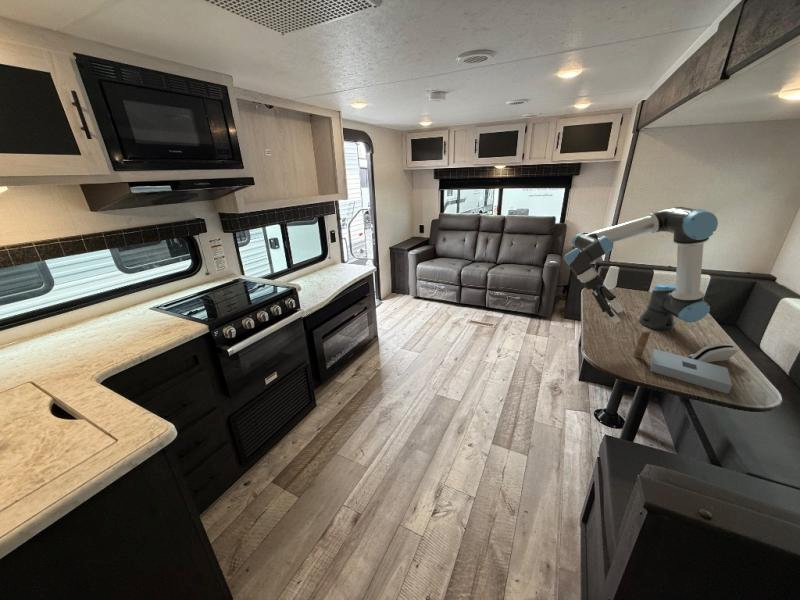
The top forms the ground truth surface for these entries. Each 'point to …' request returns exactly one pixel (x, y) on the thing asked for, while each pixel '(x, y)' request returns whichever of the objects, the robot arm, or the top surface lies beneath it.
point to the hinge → (715, 353)
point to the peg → (641, 344)
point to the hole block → (691, 371)
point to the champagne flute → (611, 278)
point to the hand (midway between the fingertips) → (619, 316)
